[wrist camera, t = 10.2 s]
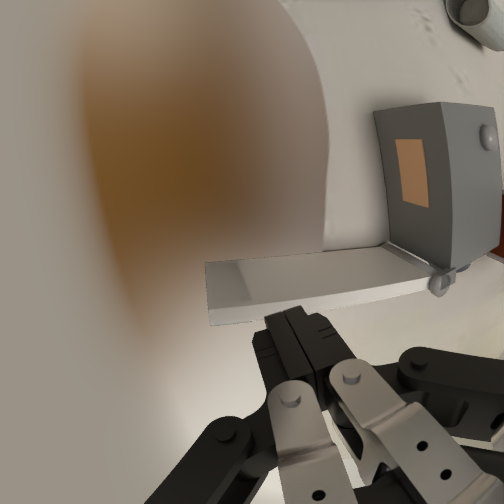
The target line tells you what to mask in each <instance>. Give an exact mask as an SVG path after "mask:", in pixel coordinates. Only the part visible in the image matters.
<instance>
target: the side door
mask: <svg viewBox="0 0 504 504" xmlns="http://www.w3.org/2000/svg"><path fill="white" fill-rule="evenodd" d="M437 272H439V271H438V270H437V269H435V268H433V267H431V266H430V265H428V264H426V263H424V262H422V261H421V260H419V259H417V258H415V257H413V256H411V255H410V254H408V253H406V252H404V251H402V250H400V249H398V248H396V247H394V246H392V245H391V244H389V243H383V244H382V245H381V246H380V247H372V248H361V249H351V250H340V251H330V252H319V253H308V254H297V255H287V256H275V257H264V258H253V259H242V260H231V261H218V262H207V263H205V274H206V288H207V302H208V313H209V321H210V326H219V325H229V324H238V323H247V322H252V321H255V320H263V319H264V316H267V315H270V314H274V313H277V312H280V311H282V312H283V310H286V309H289V308H292V307H295V306H298V305H301V306H302V307H303V309H304V311H305V312H306V313H312V312H318V311H324V310H330V309H336V308H341V307H347V306H352V305H358V304H363V303H368V302H373V301H378V300H382V299H387V298H392V297H396V296H401V295H405V294H409V293H414V292H418V291H422V290H426V289H429V290H430V283H431V281H432V279H433V277H434V276H435V274H436V273H437Z"/></svg>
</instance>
